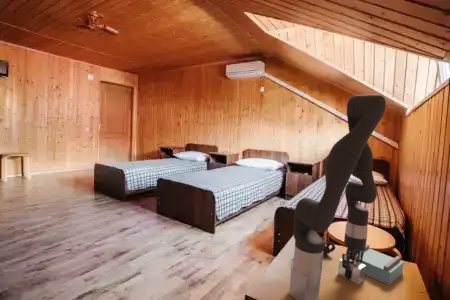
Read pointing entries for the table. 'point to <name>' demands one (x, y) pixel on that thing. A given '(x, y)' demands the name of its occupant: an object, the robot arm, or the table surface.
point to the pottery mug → (327, 247)
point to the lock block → (354, 272)
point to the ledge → (382, 266)
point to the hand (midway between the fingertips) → (351, 275)
